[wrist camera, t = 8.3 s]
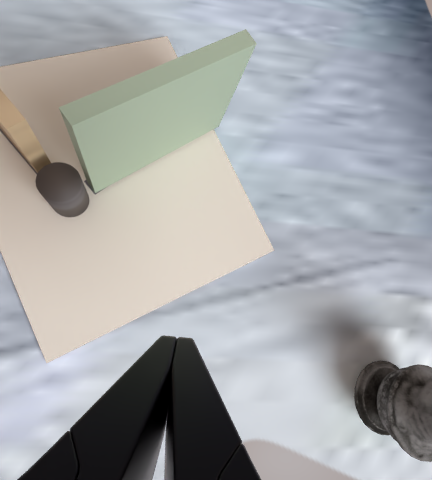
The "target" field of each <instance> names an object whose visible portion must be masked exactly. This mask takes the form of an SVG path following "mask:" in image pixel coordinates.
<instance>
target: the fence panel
mask: <svg viewBox="0 0 432 480" xmlns="http://www.w3.org/2000/svg"><path fill="white" fill-rule="evenodd" d="M255 46H256V42H255V41H254V40H253V38H252V37H251V36H250V34H249V33H248V32H247V30H243V31H241V32H238V33H236V34H234V35H231V36H229V37H226V38H224V39H222V40H219V41H217V42H215V43H212V44H210V45H207V46H205V47H203V48H200V49H198V50H195V51H193V52H191V53H188V54H186V55H183V56H181V57H179V58H176V59H174V60H171V61H169V62H167V63H164V64H162V65H159V66H157V67H155V68H152V69H150V70H147V71H145V72H143V73H140V74H138V75H135V76H133V77H131V78H128V79H126V80H123V81H121V82H119V83H116V84H114V85H111V86H109V87H107V88H104V89H102V90H99V91H97V92H95V93H92V94H90V95H87V96H85V97H83V98H80V99H78V100H75V101H73V102H71V103H68V104H66V105H63V106H61V107H59V110H60V112H61V115H62V117H63V120H64V123H65V125H66V128H67V130H68V133H69V136H70V138H71V141H72V143H73V146H74V149H75V151H76V154H77V156H78V159H79V162H80V164H81V167H82V169H83V172H84V175H85V177H86V180H87V182H88V183H89V185H90V186H91V188H92V189H93V190H94V192H95V193H97V192H98V191H100V190H102V189H104V188H106V187H108V186H109V185H111V184H113V183H115V182H117V181H119V180H121V179H122V178H124V177H126V176H128V175H130V174H132V173H133V172H135V171H137V170H139V169H141V168H143V167H145V166H146V165H148V164H150V163H152V162H154V161H156V160H158V159H159V158H161V157H163V156H165V155H167V154H169V153H170V152H172V151H174V150H176V149H178V148H180V147H182V146H183V145H185V144H187V143H189V142H191V141H193V140H194V139H196V138H198V137H200V136H202V135H204V134H206V133H207V132H209V131H211V130H213V129H215V128H217V127H218V126H219V125H220V122H221V120H222V118H223V116H224V114H225V111H226V109H227V107H228V105H229V103H230V100H231V98H232V96H233V94H234V92H235V90H236V87H237V85H238V83H239V81H240V79H241V76H242V74H243V72H244V70H245V68H246V65H247V63H248V61H249V59H250V57H251V55H252V52H253V50H254V48H255Z"/></svg>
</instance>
